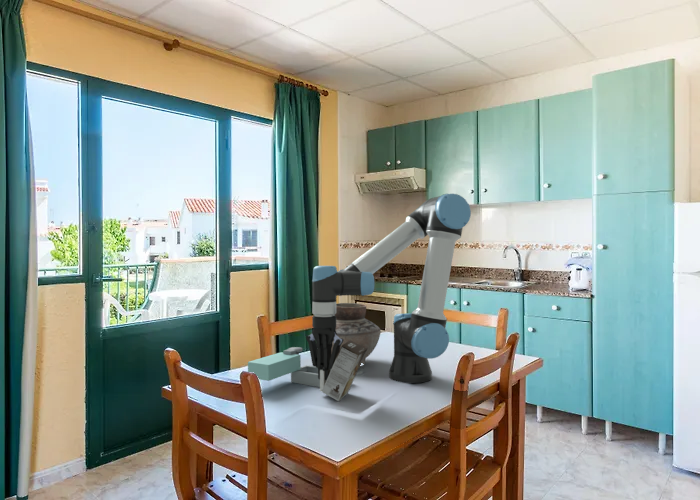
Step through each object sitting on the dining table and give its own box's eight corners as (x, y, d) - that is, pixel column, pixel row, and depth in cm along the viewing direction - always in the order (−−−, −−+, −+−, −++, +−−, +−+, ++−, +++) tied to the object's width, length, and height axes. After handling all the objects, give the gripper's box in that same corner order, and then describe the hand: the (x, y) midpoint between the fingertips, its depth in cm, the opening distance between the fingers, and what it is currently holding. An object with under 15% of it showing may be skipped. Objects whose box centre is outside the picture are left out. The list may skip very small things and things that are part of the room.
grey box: (349, 383, 163) (349, 355, 163) (335, 389, 155) (335, 360, 155) (300, 375, 174) (300, 349, 174) (284, 381, 166) (284, 353, 166)
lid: (268, 380, 150) (268, 361, 150) (248, 377, 155) (247, 358, 155) (309, 366, 169) (309, 348, 169) (290, 363, 174) (290, 346, 174)
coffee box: (330, 383, 153) (350, 339, 151) (348, 393, 151) (368, 348, 149) (320, 391, 144) (341, 344, 142) (339, 402, 143) (360, 354, 141)
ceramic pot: (390, 361, 194) (390, 303, 194) (363, 376, 172) (363, 310, 172) (336, 355, 205) (336, 300, 205) (305, 368, 183) (305, 306, 183)
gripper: (348, 315, 149) (348, 390, 150) (314, 312, 156) (314, 384, 156) (335, 318, 143) (335, 396, 143) (300, 314, 150) (300, 389, 150)
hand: (324, 390), depth 150 cm, fingers closed
